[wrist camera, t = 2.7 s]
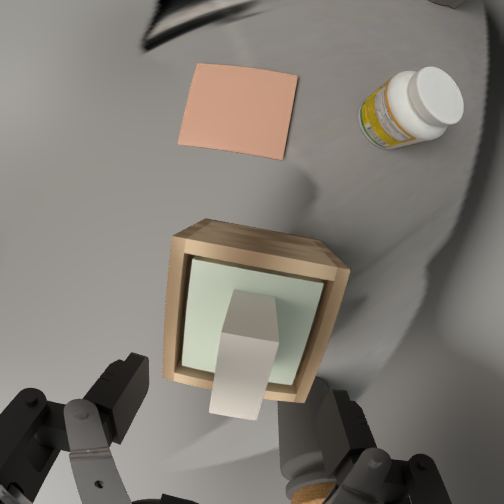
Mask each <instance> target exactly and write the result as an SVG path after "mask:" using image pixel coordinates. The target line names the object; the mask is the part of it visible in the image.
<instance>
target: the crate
mask: <svg viewBox="0 0 504 504" xmlns="http://www.w3.org/2000/svg"><path fill="white" fill-rule="evenodd" d="M196 255H198V256H203V257H208V258H213V259H218V260H223V261H228V262H234V263H239V264H244V265H249V266H255V267H260V268H265V269H271V270H276V271H281V272H287V273H292V274H298V275H303V276H309V277H314V278H320V279H321V280H322V282H323V283H324V285H323V288H322V292H321V296H320V299H319V303H318V306H317V310H316V313H315V316H314V320H313V323H312V326H311V329H310V333H309V336H308V339H307V342H306V345H305V348H304V351H303V354H302V357H301V360H300V363H299V366H298V369H297V372H296V375H295V378H294V381H293V383H292V385H287V384H279V383H271V382H268V384H267V387H266V390H265V394H264V397H263V399H270V400H278V401H287V402H298V403H305V400H306V398H307V396H308V393H309V391H310V389H311V386H312V384H313V381H314V379H315V376H316V374H317V371H318V368H319V366H320V363H321V361H322V358H323V355H324V352H325V350H326V347H327V344H328V341H329V338H330V336H331V333H332V330H333V327H334V324H335V321H336V318H337V315H338V311H339V308H340V305H341V302H342V299H343V295H344V292H345V289H346V285H347V282H348V278H349V275H350V271H351V270H350V269H349V268H348V267H347V266H346V265H345V264H344V263H343V262H342V261H341V260H340V259H339V258H338V257H337V256H336V255H335V254H334V253H333V252H332V251H330V250H329V249H328V248H327V247H326V246H325V245H324V244H323V243H322V242H321V241H320V240H315V239H311V238H306V237H301V236H296V235H291V234H286V233H281V232H275V231H270V230H264V229H260V228H255V227H249V226H244V225H238V224H233V223H228V222H222V221H217V220H211V219H204V220H202V221H200V222H198V223H196V224H194V225H192V226H190V227H188V228H186V229H184V230H183V231H181V232H179V233H177V234H175V235H173V236H172V242H171V250H170V260H169V270H168V281H167V292H166V307H165V324H164V345H163V347H164V348H163V378H165V379H169V380H172V381H177V382H180V383H184V384H188V385H192V386H197V387H201V388H206V389H211V390H212V388H213V381H214V375H215V373H213V372H208V371H204V370H199V369H195V368H191V367H186V366H182V355H183V342H184V331H185V320H186V310H187V300H188V291H189V282H190V274H191V266H192V259H193V258H194V257H195V256H196Z"/></svg>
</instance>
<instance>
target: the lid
mask: <svg viewBox="0 0 504 504" xmlns="http://www.w3.org/2000/svg"><path fill="white" fill-rule="evenodd" d="M323 285H324V283H323V282H322V280H321V279H320V278H314V277H309V276H303V275H298V274H292V273H287V272H281V271H276V270H271V269H265V268H260V267H255V266H249V265H244V264H239V263H234V262H228V261H223V260H218V259H213V258H208V257H203V256H198V255H196V256H195V257H194V258H193V259H192V266H191V274H190V282H189V291H188V300H187V310H186V320H185V331H184V342H183V355H182V366H186V367H191V368H195V369H199V370H204V371H208V372H213V373H215V375H214V381H213V388H212V395H211V401H210V409H209V412H210V413H214V414H219V415H224V416H230V417H236V418H242V419H249V420H256V419H257V416H258V413H259V410H260V407H261V403H262V400H263V397H264V394H265V390H266V387H267V384H268V382H271V383H279V384H287V385H292V383H293V381H294V378H295V375H296V372H297V369H298V366H299V363H300V360H301V357H302V354H303V351H304V348H305V345H306V342H307V339H308V336H309V333H310V329H311V326H312V323H313V320H314V316H315V313H316V310H317V306H318V303H319V299H320V296H321V292H322V288H323Z"/></svg>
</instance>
